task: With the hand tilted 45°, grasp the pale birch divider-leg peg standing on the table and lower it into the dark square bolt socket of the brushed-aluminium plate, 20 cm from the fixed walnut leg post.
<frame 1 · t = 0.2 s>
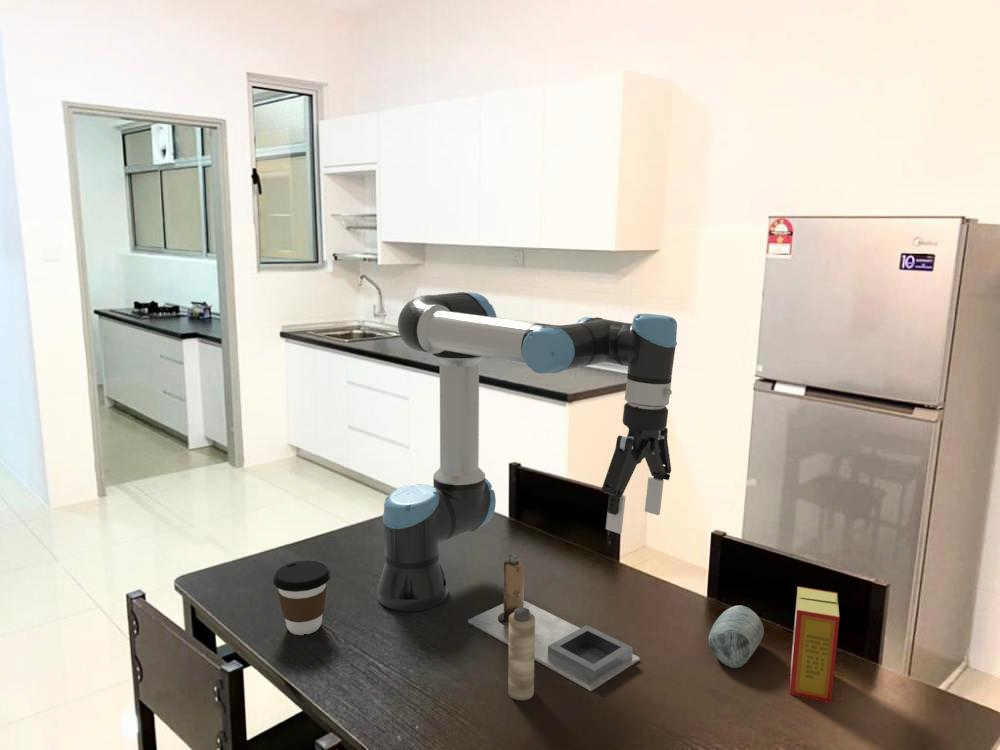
hand: (633, 521, 135), 27 cm above the table, fingers open, 13 cm apart
coffee cup: (304, 628, 152), on the table
spool: (734, 655, 143), on the table
bolt plate: (549, 640, 147), on the table
baking soda box: (810, 684, 134), on the table
birch leg peg: (521, 692, 131), on the table
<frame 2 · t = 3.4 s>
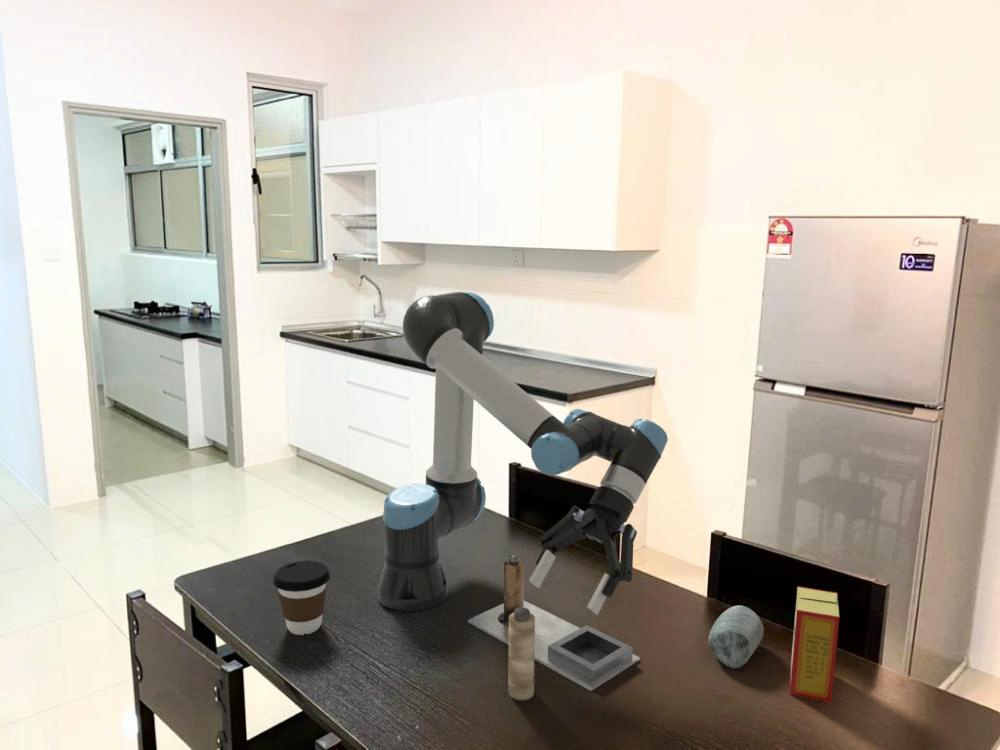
hand: (561, 597, 134), 15 cm above the table, fingers open, 13 cm apart
nothing on the table moved.
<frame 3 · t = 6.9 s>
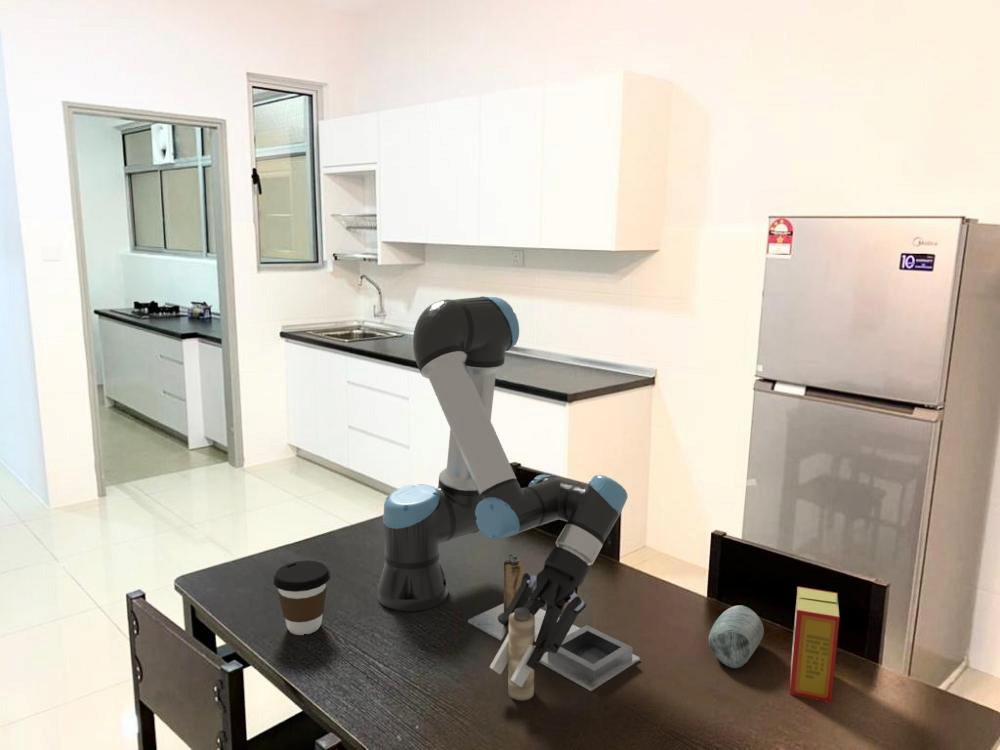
hand: (505, 676, 127), 5 cm above the table, fingers closed on birch leg peg, 4 cm apart
birch leg peg: (521, 692, 131), on the table, touching gripper
everything else where it was.
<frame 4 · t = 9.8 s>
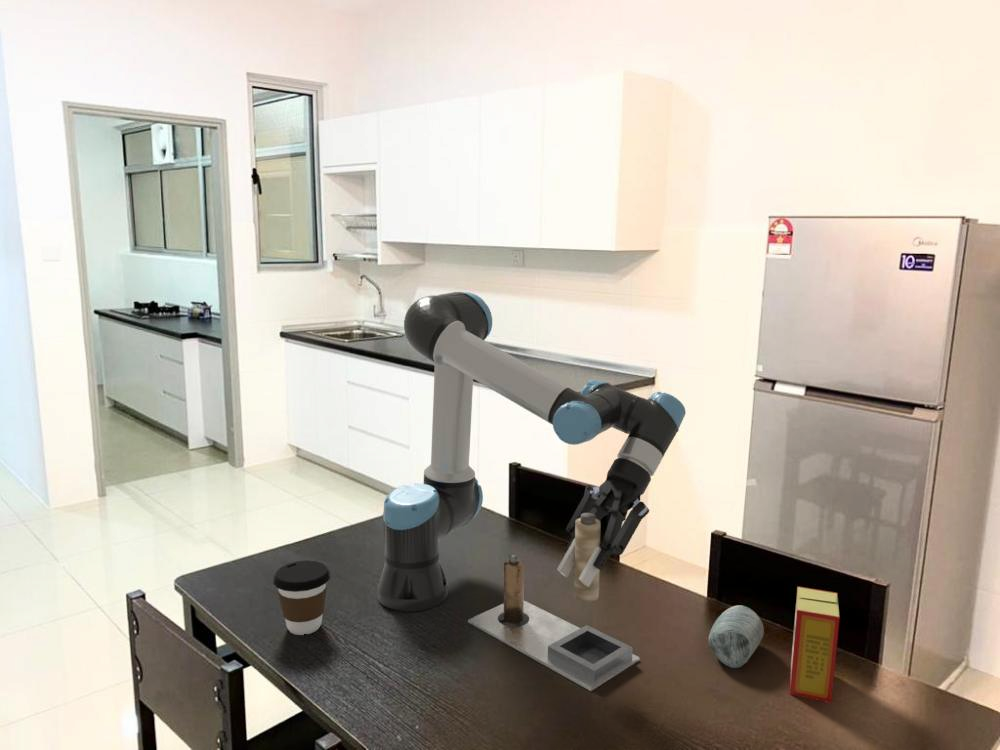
hand: (572, 577, 133), 18 cm above the table, fingers closed on birch leg peg, 4 cm apart
birch leg peg: (586, 595, 137), point 14 cm above the table, touching gripper
everything else where it was.
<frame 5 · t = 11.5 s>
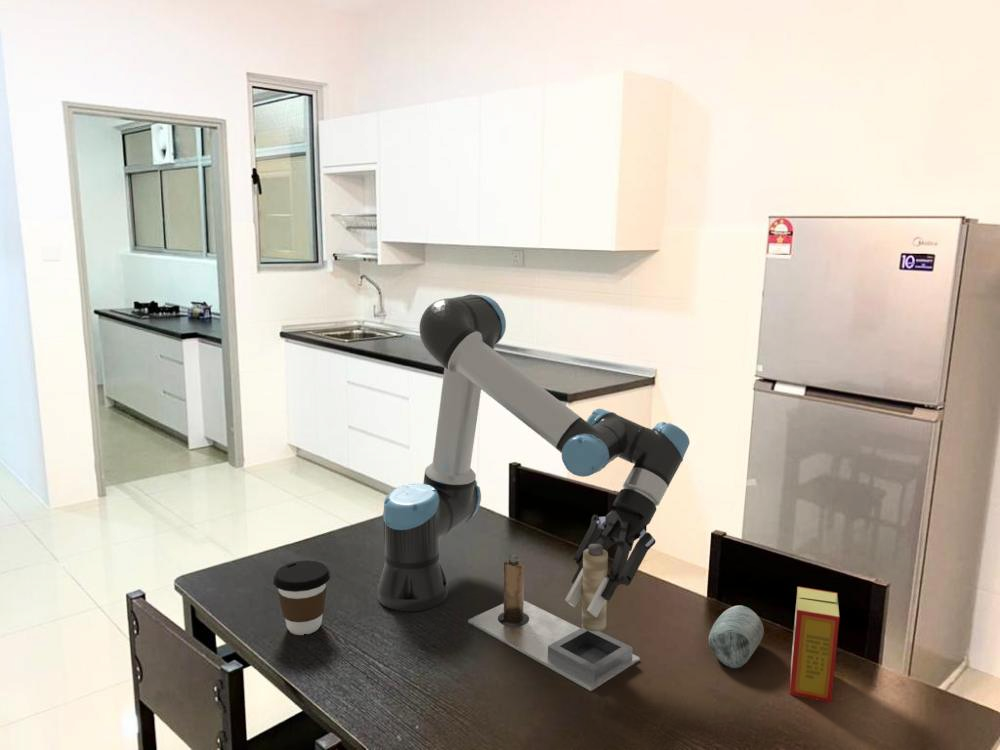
hand: (580, 608, 135), 12 cm above the table, fingers closed on birch leg peg, 4 cm apart
birch leg peg: (593, 625, 139), point 7 cm above the table, touching gripper
everything else where it was.
when the fingers open (7 cm above the table, at t = 13.0 s): birch leg peg drops 1 cm, resting on bolt plate.
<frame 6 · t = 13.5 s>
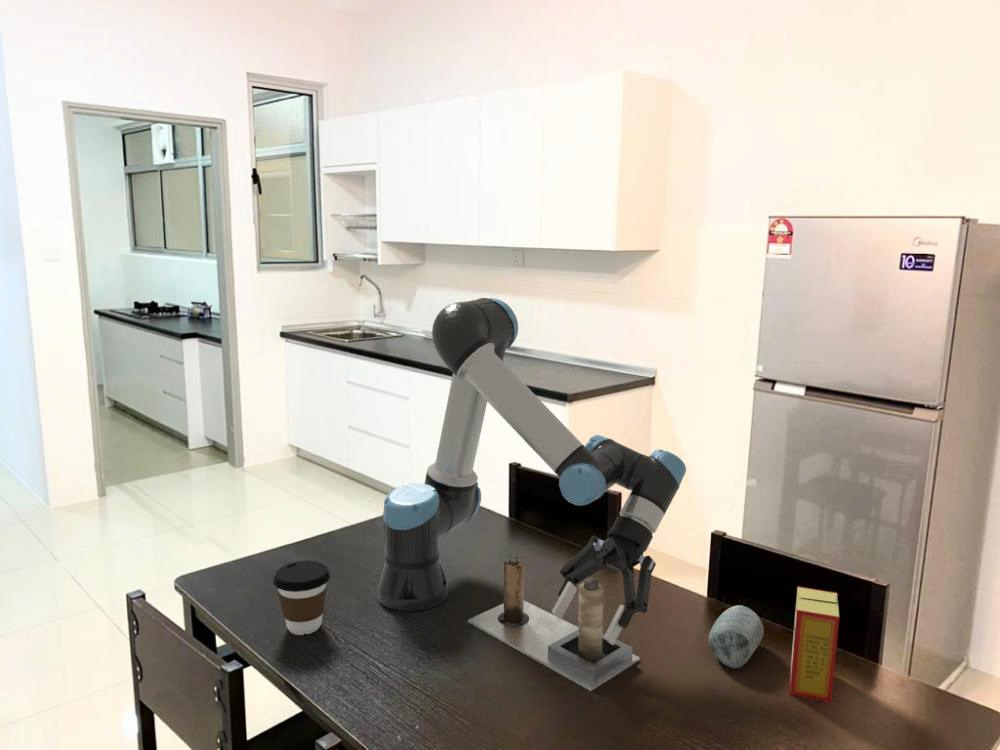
hand: (581, 628, 137), 8 cm above the table, fingers open, 11 cm apart
birch leg peg: (590, 657, 140), point 1 cm above the table, touching bolt plate
everything else where it was.
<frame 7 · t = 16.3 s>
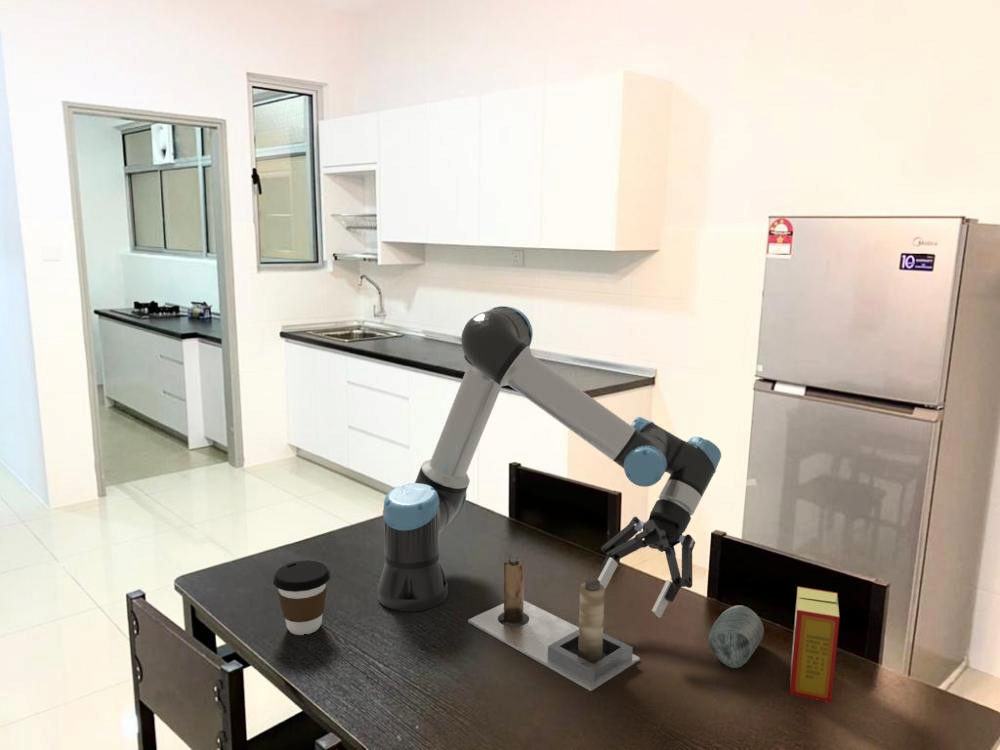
hand: (626, 601, 146), 8 cm above the table, fingers open, 13 cm apart
nothing on the table moved.
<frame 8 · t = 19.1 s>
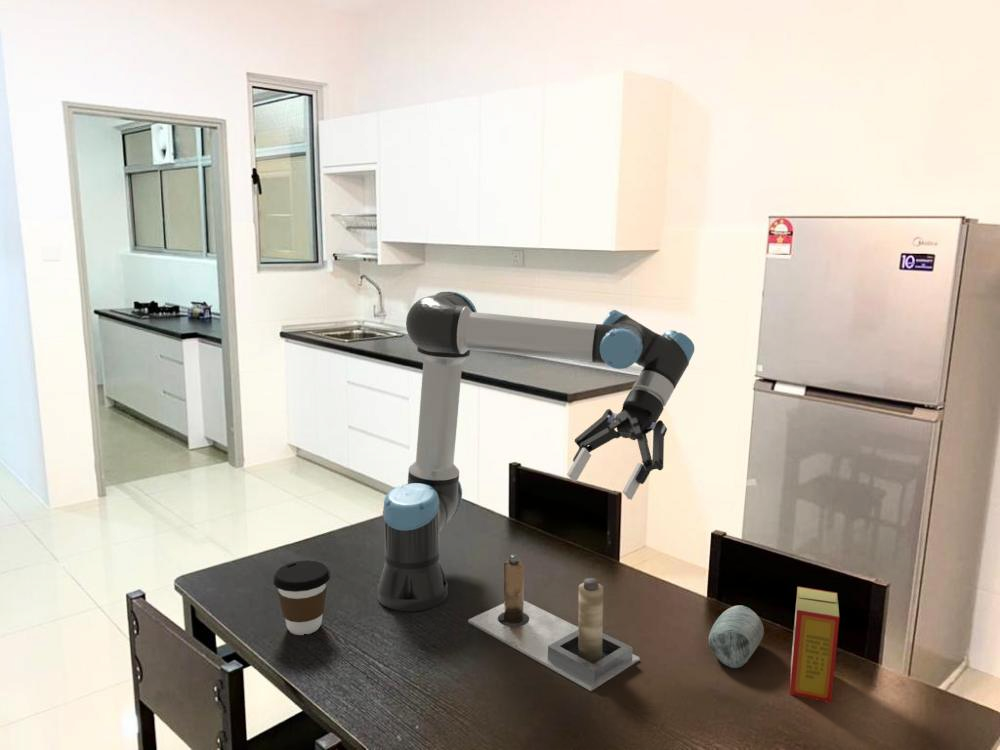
hand: (598, 486, 146), 30 cm above the table, fingers open, 13 cm apart
nothing on the table moved.
at the end: birch leg peg 0.0 cm from the target spot, point 0.7 cm above the table; birch leg peg tilted 1°; the gripper is holding nothing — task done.
